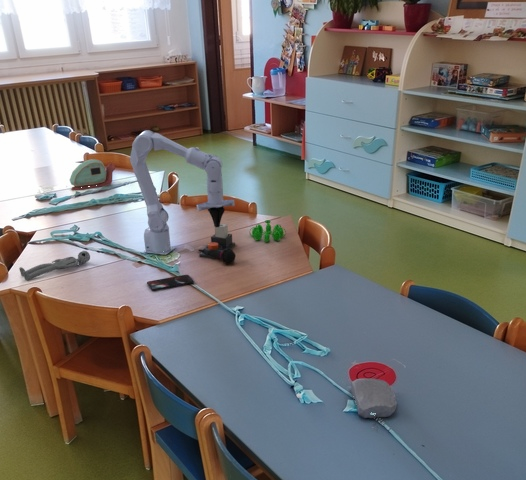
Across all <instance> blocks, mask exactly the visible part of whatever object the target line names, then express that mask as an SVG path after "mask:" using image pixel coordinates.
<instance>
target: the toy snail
mask: <svg viewBox="0 0 526 480" xmlns="http://www.w3.org/2000/svg"><path fill="white" fill-rule="evenodd" d="M115 170H116V166H115V165H114V164H113V162H110V163H109V164H108V165H107V166H105V165H104V163H103V161H101V160H99V159H94V158H92V159H87V160H85V161H83V162H82V163H80V164H78V165H77V166H76V168H75V169H74V170H72V172H71V174H70V178H69V183H70V185H72V187H71V191H80V190H88V189H95V188H102V187H107V186H110V185H112V183H113V172H114V171H115ZM96 185H97V186H96ZM88 186H90V187H88ZM81 187H82V188H81Z"/></svg>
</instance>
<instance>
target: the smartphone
mask: <svg viewBox="0 0 526 480" xmlns="http://www.w3.org/2000/svg"><path fill="white" fill-rule="evenodd" d="M194 283H195V282H194V279H193V278H192V277H191V276H190V275H189V274H182V275H176V276H171V277H164V278H160V279H154V280H149V281H147V282H146V284H147V286H148V287H149V288H150V290H151V291H159V290H165V289H170V288H175V287H180V286H181V287H182V286H185V285H191V284H194Z"/></svg>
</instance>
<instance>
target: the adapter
mask: <svg viewBox="0 0 526 480" xmlns="http://www.w3.org/2000/svg"><path fill="white" fill-rule="evenodd" d="M235 246H236V242H233V241H232V244H231V245H230V246H229V247H228V248H222V246H221V245H218V249H215V250H222V251H224V250H225V249H231V250H233V248H234V247H235ZM203 249H204V251H205V253H203V252H200V253H199V258H203V259H204V258H205V259H211V260H218V261H219V260H220V259H218V258H215V257H212V256H210V255H208V252H209V251H211V249H208V244H207V245H205V246H204V247H203Z"/></svg>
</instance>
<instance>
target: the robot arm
mask: <svg viewBox="0 0 526 480" xmlns="http://www.w3.org/2000/svg"><path fill="white" fill-rule="evenodd" d="M152 150H153V151H154V152H156V151H157V152H158V151H160V150H165V151H167V152H170V153H172V154H174V155H177V156H180V157H181V158H184V160H185V162H186V163H187V164H189V165H191V166H193V167H196V168H199V169H201V170H204V171H205V172H206V190H207V191H206V192H207V201H206V202H202V203H198V204H196V210H197V211H198V212H201V211H206V210H207V211H208V214H209V215H210V216H211V220H212V222H213V227H214V228H215V227H220V224H221V222H222V218H223V215H224V214H225V211H226V210H225V208H224V207H230V206H231V207H235V205H236V204H235V200H234V199H224V186H223V172H222V169H223V160H222V159H221V158H220V157H219V156H218V155H216V154H212V153H210V152H209V153H206V152H205V151H202V150H200V147H198V146H196V147H194V146H192V147H189V148H187V147H186V146H183V145H181V144H179V143H178V142H177V141H176V142H175V141H174V140H172V139H169V138H168V137H166V136H164V135H163V134H161V133H158V132H154V131H152V130H149V129H145V130H143V131H142V132H141V133H140V134H139V135H137V136H136V138H135V139H134V141H133V142H132V144H131V151H130V156H129V162H130V164H131V167H132V170H133V173H134V176H135V178H136V181H137V183H138V187H139V189H140V192H141V194H142V195H141V196H142V198H143V200H144V203H145V206H146V215H147V218H148V219H147V225H148V227H146V228H145V229H144V232H143V242H144V253H148V254H155V255H160V256H161V255H162V256H167V255H168V254H169V253H171V252H172V251H174V250H175V249H176V247H175V246H171V237H170V227H169V225H168V223H167V222H168V221H169V217H170V216H169V213H168V211H167V210H166V209H165V208H164V206H163V205H164V204H162V202H161V201H160V199H159V196H158V194H157V193H158V192H157V190H156V187H155V185H154V182H153V179H152V176H151V173H150V171H149V170H150V169H149V167H148V164H147V162H146V159H147V157H148V156H149V153H150V152H151V151H152ZM163 251H164V252H163Z"/></svg>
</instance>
